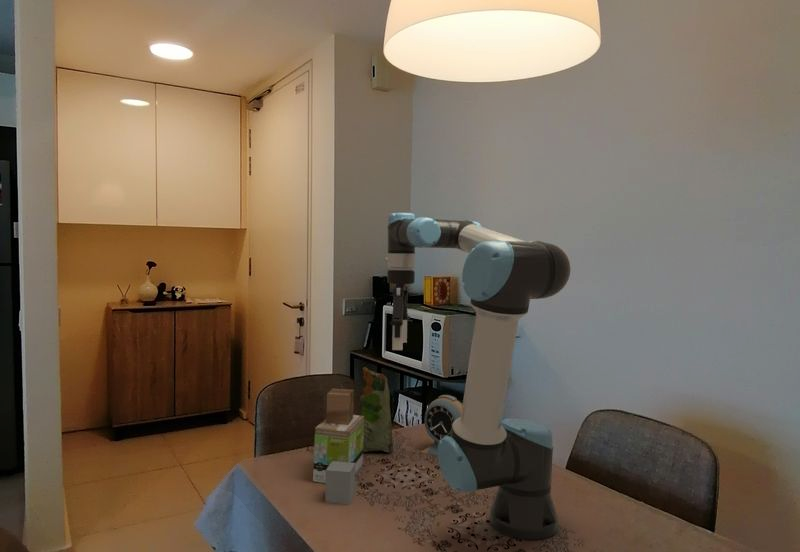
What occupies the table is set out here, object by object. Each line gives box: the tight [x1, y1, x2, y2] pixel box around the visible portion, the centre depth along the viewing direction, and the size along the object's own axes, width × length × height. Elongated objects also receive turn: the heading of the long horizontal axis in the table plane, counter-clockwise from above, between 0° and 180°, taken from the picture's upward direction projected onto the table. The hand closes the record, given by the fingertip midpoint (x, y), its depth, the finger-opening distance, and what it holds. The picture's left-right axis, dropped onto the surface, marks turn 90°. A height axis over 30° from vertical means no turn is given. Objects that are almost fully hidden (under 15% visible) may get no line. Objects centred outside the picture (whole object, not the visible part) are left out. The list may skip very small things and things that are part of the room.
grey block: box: [324, 461, 356, 505], centre depth 139 cm, size 6×6×8 cm
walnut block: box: [326, 388, 355, 425], centre depth 154 cm, size 6×6×8 cm
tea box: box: [312, 414, 364, 484], centre depth 155 cm, size 15×10×15 cm
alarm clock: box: [420, 394, 463, 458], centre depth 173 cm, size 14×10×18 cm
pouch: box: [360, 366, 394, 453], centre depth 173 cm, size 11×12×25 cm
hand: (399, 346), depth 156 cm, fingers open, 13 cm apart
